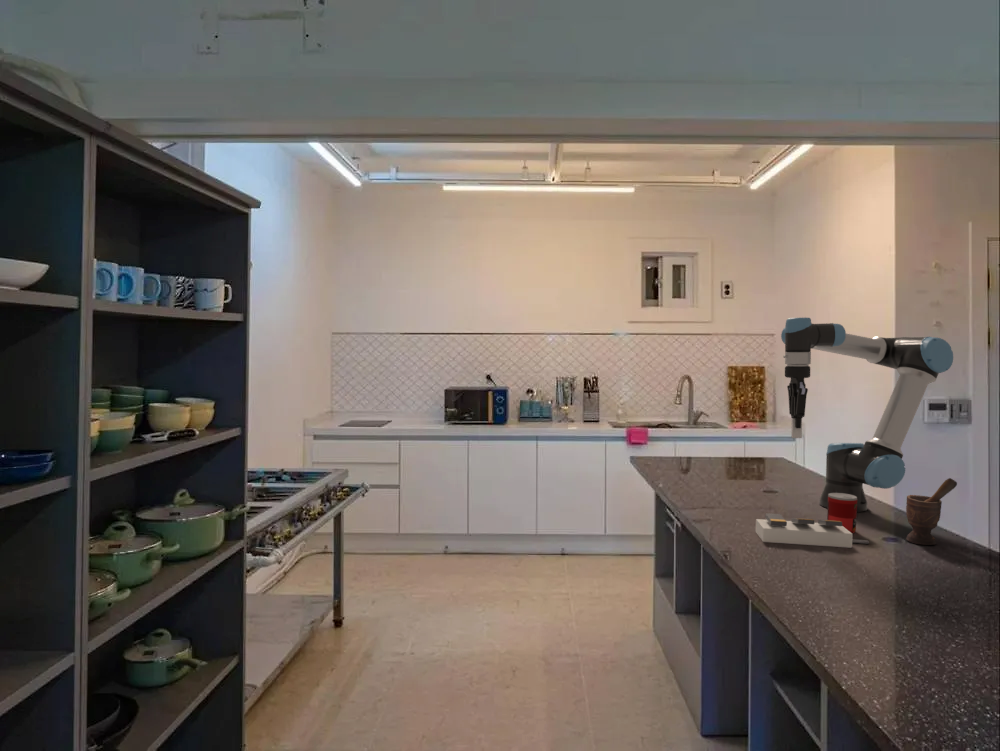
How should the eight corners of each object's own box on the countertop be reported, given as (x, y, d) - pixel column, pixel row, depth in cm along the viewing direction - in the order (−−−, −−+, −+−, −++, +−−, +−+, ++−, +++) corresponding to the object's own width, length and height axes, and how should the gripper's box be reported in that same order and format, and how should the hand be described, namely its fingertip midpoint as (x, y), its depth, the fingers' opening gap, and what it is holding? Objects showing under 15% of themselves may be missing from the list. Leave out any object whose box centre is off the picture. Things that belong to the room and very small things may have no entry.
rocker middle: (807, 523, 191) (807, 518, 191) (814, 524, 184) (814, 519, 184) (791, 522, 191) (791, 517, 192) (798, 523, 185) (798, 518, 185)
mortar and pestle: (945, 540, 189) (948, 474, 188) (956, 549, 181) (960, 480, 180) (900, 536, 192) (904, 471, 191) (909, 545, 184) (913, 477, 183)
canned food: (859, 535, 194) (861, 499, 193) (831, 533, 195) (832, 497, 195) (850, 527, 201) (852, 493, 200) (823, 526, 203) (825, 491, 202)
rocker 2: (834, 524, 189) (833, 520, 189) (842, 526, 182) (842, 521, 183) (818, 523, 190) (818, 519, 190) (825, 525, 183) (825, 520, 183)
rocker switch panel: (861, 538, 190) (862, 525, 189) (874, 549, 180) (875, 535, 180) (755, 531, 195) (755, 518, 195) (762, 541, 185) (763, 528, 185)
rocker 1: (780, 517, 192) (780, 513, 192) (786, 526, 185) (786, 521, 185) (765, 517, 193) (765, 512, 193) (770, 525, 186) (770, 520, 186)
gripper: (779, 364, 213) (778, 434, 214) (791, 366, 200) (790, 440, 201) (803, 364, 211) (802, 434, 213) (816, 366, 199) (815, 441, 200)
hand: (796, 437), depth 207 cm, fingers closed
